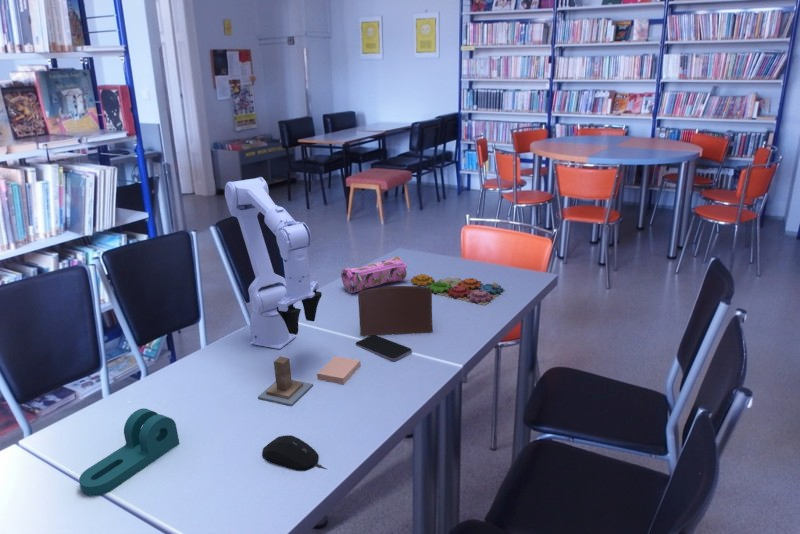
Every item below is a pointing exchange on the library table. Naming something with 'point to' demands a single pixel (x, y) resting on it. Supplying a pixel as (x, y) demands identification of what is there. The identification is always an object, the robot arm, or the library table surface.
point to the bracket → (132, 452)
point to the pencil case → (373, 274)
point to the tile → (338, 370)
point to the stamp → (283, 380)
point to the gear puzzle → (461, 288)
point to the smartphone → (384, 347)
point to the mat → (282, 400)
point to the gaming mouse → (291, 453)
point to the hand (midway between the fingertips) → (302, 326)
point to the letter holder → (395, 310)
